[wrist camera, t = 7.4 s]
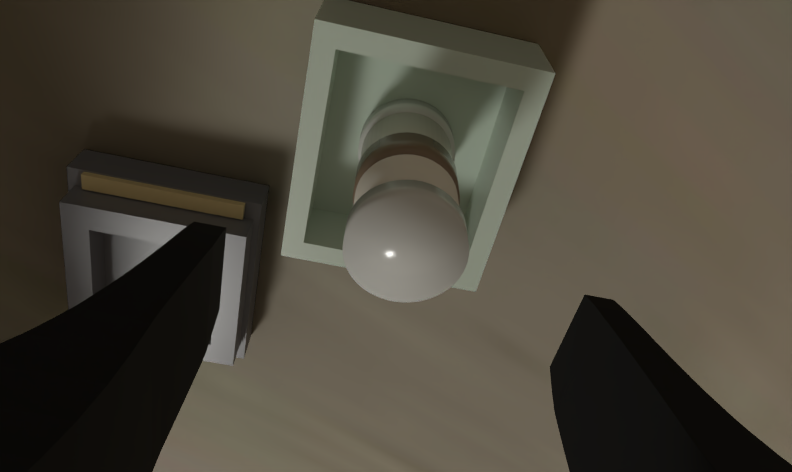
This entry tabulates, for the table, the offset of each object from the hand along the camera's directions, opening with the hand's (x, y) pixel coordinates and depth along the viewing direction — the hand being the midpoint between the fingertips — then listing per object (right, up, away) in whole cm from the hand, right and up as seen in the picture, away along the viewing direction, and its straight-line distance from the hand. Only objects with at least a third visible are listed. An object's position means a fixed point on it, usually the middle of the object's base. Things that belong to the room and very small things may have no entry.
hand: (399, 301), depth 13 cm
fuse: (0, +4, +6) cm, 8 cm away
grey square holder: (-8, +1, +9) cm, 12 cm away
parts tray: (0, +4, +7) cm, 8 cm away
